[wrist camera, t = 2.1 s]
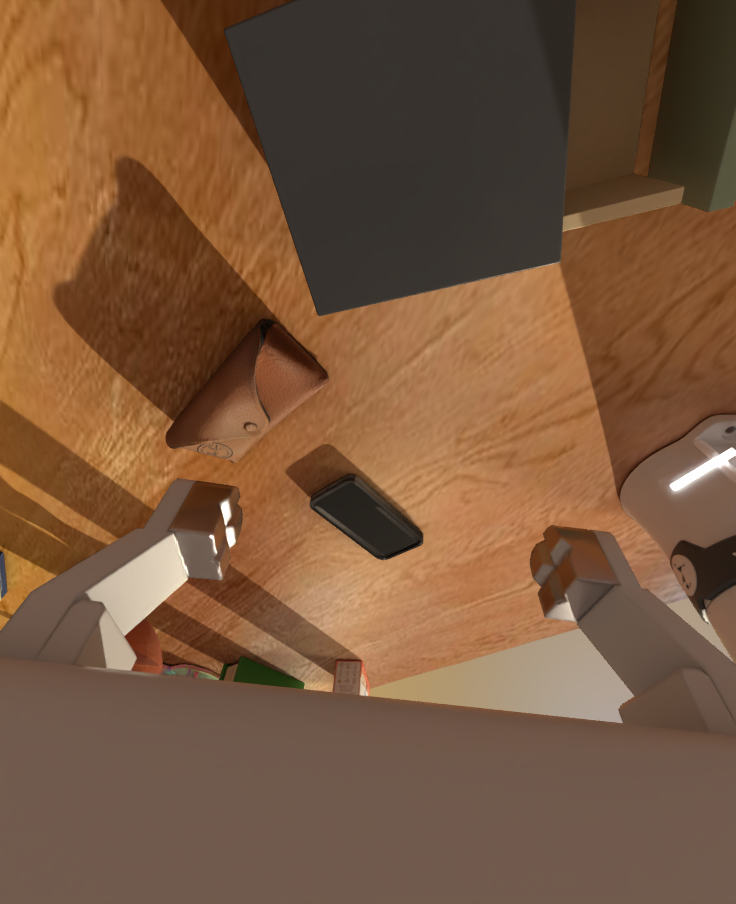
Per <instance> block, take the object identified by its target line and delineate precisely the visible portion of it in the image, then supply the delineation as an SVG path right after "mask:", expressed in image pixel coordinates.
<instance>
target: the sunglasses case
mask: <svg viewBox="0 0 736 904" xmlns="http://www.w3.org/2000/svg"><path fill="white" fill-rule="evenodd" d="M328 381H329V378H328V375H327V372H326V371H325V370H324V369H323V368H322V366H321V365H320V364H319V363H318V362H317V361H316V360H315V359H314V358H313V357H312V356H311V355H310V354H309V353H308V352H307V351H306V350H305V349H304V348H303V347H302V346H301V345H300V344H299V343H298V342H297V341H296V340H295V339H294V338H293V337H292V336H291V335H290V334H289V333H288V332H286V331H285V330H284V329H283V328H282V327H281V326H280V325H279V324H278V323H276V322H274V321H272V320H268V319H262V320H260V321H259V322H258V323H257V324H256V325H255V327H254V328H253V329H252V330H251V331H250V332H249V333H248V335H247V336H246V337H245V338H244V339H243V340H242V341H241V343H240V344H239V345H238V346H237V347H236V349H235V350H234V351H233V352H232V353H231V355H230V356H229V357H228V358H227V359H226V360H225V362H224V363H223V364H222V365H221V366H220V368H219V369H218V370H217V371H216V372H215V374H214V375H213V376H212V377H211V379H210V380H209V381H208V382H207V383H206V385H205V386H204V387H203V388H202V389H201V390H200V392H199V393H198V394H197V395H196V396H195V397H194V399H193V400H192V401H191V402H190V404H189V405H188V406H187V407H186V408H185V409H184V411H183V412H182V413H181V414H180V415H179V417H178V418H177V419H176V420H175V422H174V423H173V424H172V426H171V427H170V429H169V430H168V431H167V433H166V443H167V445H168V446H169V447H170V448H172V449H176V448H183V449H187V450H191V451H195V452H199V453H203V454H207V455H211V456H215V457H219V458H223V459H228V460H229V461H231V462H232V463H237V462H238V461H239V460H241V459H242V457H243V456H244V455H245V454H246V453H247V452H248V451H249V450H250V449H251V448H252V447H253V446H254V445H255V444H256V443H257V442H258V441H259V440H260V439H261V438H263V437H264V436H265V435H266V434H267V433H268V432H269V431H270V430H271V429H272V428H274V427H275V426H276V425H277V424H278V423H279V422H280V421H282V420H283V419H284V418H285V417H286V416H287V415H288V414H290V413H291V412H292V411H293V410H294V409H295V408H297V407H298V406H299V405H300V404H302V403H303V402H304V401H305V400H306V399H308V398H309V397H310V396H312V395H313V394H314V393H316V392H317V391H318V390H319V389H320V388H322V387H323V386H324V385H325V384H326V383H327V382H328Z"/></svg>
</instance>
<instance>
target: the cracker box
mask: <svg viewBox="0 0 736 904" xmlns="http://www.w3.org/2000/svg"><path fill="white" fill-rule="evenodd" d="M333 692H335V693H344V694H353V695H363V696H370V695H369V694H370V686H369V682H368V679H367V676H366V673H365V669H364V666H363V663H362V661H345V660H337V661H336V667H335V676H334V684H333Z"/></svg>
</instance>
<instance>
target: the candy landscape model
mask: <svg viewBox="0 0 736 904" xmlns="http://www.w3.org/2000/svg"><path fill="white" fill-rule="evenodd" d="M161 674H166V675H175V676H184V677H194V678H203V679H213V680H219V678H220V675H219V674H216V673H215V672H212V671H211V670H208V669H204V668H201V667H197V666H194V665H187V664H180V665H175V666H168V665H164V664H163V666H162V672H161Z"/></svg>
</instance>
